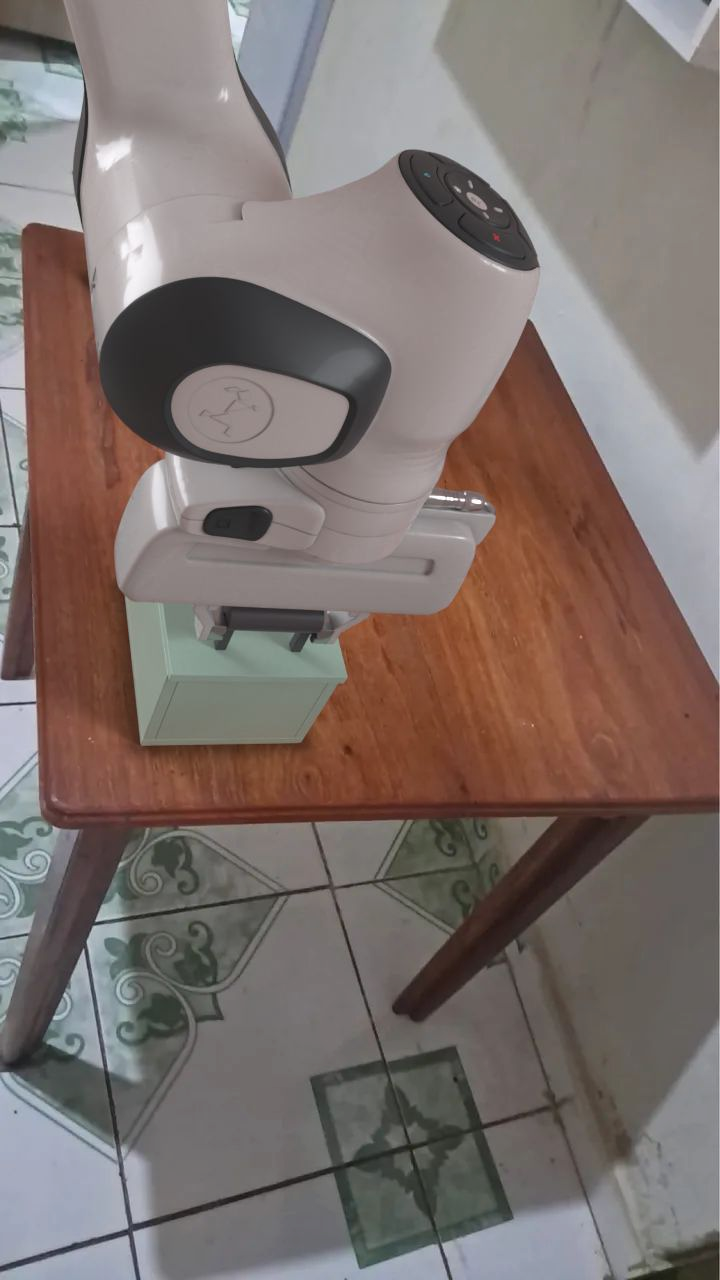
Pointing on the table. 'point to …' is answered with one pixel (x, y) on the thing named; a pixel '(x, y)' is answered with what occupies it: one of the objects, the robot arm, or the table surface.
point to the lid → (250, 647)
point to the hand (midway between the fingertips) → (263, 633)
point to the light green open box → (211, 698)
